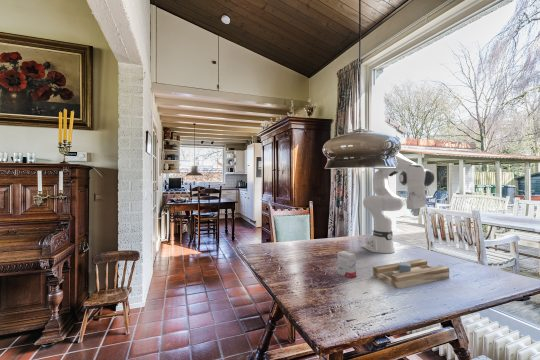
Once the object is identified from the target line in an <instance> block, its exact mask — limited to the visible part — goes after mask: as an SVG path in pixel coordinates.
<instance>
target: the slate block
mask: <svg viewBox="0 0 540 360" xmlns="http://www.w3.org/2000/svg"><path fill="white" fill-rule="evenodd" d="M404 262H405V261H399V262H398V263H399V273H404V272H410V271H411V263H404Z"/></svg>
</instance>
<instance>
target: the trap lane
mask: <svg viewBox="0 0 540 360" xmlns="http://www.w3.org/2000/svg"><path fill="white" fill-rule="evenodd" d="M403 262H404V263H411V271H410V272H404V273H399V263H400V262H395V263H389V264H382V265H378V266H373V267H372V277H373V278H375V279H377V280H379V281H381V282H383V283H385V284H387V285H390V286H391V287H393V288H396V289H403V288H404V289H405V288H408V287H412V286H418V285H422V284H426V283H430V282H436V281H441V280H445V279H450V268H449V267H447V266H445V265H437V266H433V265H430V264H428V261H427V260H425V259H422V258H417V259H411V260H406V261H403Z"/></svg>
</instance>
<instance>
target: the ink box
mask: <svg viewBox="0 0 540 360" xmlns="http://www.w3.org/2000/svg"><path fill="white" fill-rule="evenodd" d="M336 254H337V272H338V275H340V274H341V275H340V276H344V277H346V278H349V279H353V278H355V277H357V263H356V262H357V259H356V254H355V253H353V252H352V253H351V252H349V251H346V250H341V251H338V252H337V253H336Z"/></svg>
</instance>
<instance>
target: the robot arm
mask: <svg viewBox="0 0 540 360" xmlns="http://www.w3.org/2000/svg"><path fill="white" fill-rule="evenodd" d="M396 159H397V162H398V166H397V167H396V168H373V169H374V170H376V171H375V172H374V173H373V177H372V190H373V192H374V194H375V195H374V194H372V195H368V196H365V197H364V199H363V200H362V203H363V204H362V206H363V207H364V209H365V210H366V211H368V212H369V213H370V214H371V216H372V219H373V223H374V229H373V230H371V232H372V235H371V236H369V237H368V238H367V239H366V241H365V244H363V245H362V248H364V249H366V250H368V251H370V252H372V253H380V254H392V253H395V252H396V251H395V247H394V241H393V230H392V229H393V226H392V225H393V224H392V219H391V218H390V217H388V216H387V215H384V214H383V213H382V212H396V211H400V210H401V209H403V206H404V200H403V199H402V197H400V196H399V195H397V194H395V193H394V192H393V191H392V190H391V187H390V182H389V177H393V176H395V175H397V174H398V173H399V183H401V185H403V186H405V187H406V186H407V187H406V188H407V191H406V192H407V196H406V197H407V198H406V209H407V210H412V212H413V213H412V214H413V217H414V216H415V217H418V216H420V212H421V208H424V207H425V206H426V204H427V194H428V191H427V189H426V187H429V186H431V185H433V183H434V181H435V174H434V172H432V171H431V169H426V168H424V165H422V164H420V163H417V162H415V161H412V160H410V159H408V158H407V157H405V156H403V154H401V153H400V152H398V154H397V155H396Z"/></svg>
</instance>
